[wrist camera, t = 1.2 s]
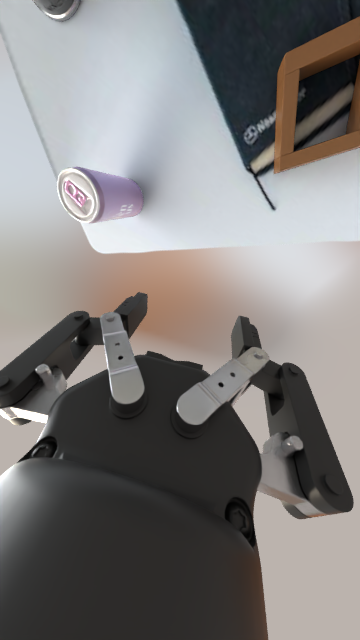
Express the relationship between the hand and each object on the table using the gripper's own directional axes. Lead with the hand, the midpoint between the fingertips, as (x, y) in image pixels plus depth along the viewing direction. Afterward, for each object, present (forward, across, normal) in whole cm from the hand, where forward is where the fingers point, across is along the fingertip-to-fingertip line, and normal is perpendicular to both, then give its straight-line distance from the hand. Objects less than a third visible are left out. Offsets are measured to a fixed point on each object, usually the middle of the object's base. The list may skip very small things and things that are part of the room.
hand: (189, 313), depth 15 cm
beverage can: (+26, +17, -6) cm, 32 cm away
